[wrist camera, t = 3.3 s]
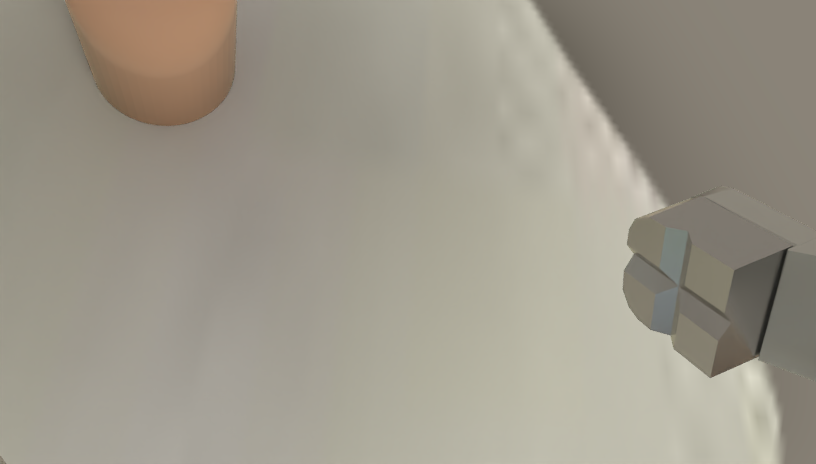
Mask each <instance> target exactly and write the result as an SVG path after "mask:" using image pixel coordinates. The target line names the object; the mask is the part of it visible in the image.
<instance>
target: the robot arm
mask: <svg viewBox="0 0 816 464" xmlns="http://www.w3.org/2000/svg"><path fill="white" fill-rule="evenodd" d="M627 245H628V247H629V248H630V249H631V251H632V252H633V253H634V255H633V256H632V258H631V260H630V261H629V263H628V265H627V266H626V268H625V270H624V278H623V292H624V294H625V297H626V300H627V303H628V306H629V308H630V309H631V311H632V312H633V313H634V315H635V316H636V317H637V319H638V320H639V321H641V322H642V323H643V324H644V325H645V326H646V327H648V328H649V329H650V330H653V331H656V332H660V333H664V334H667V335H671V340H672V344H673V348H674V349H675V350H676V351H677V352H678V353H680V354H681V355H682V356H683V357H685V358H686V359H687V360H688V361H689V362H691V363H692V364H693V365H694V366H696V367H697V368H698V369H699V370H701V371H702V372H703V373H704V374H706V375H707V376H708V377H709V378H712V377H714V376H716V375H718V374H721V373H723V372H725V371H727V370H730V369H732V368H734V367H736V366H739V365H741V364H743V363H745V362H748V361H750V360H752V359H754V358H757V357H759V359H758V360H759V361H762V362H765V363H767V364H770V365H773V366H775V367H778V368H781V369H783V370H786V371H789V372H791V373H794V374H797V375H800V376H802V377H805V378H807V379H810V380H813V381H815V382H816V230H814V229H813V228H811V227H808V226H806V225H805V224H803V223H801V222H799V221H797V220H795V219H793V218H791V217H789V216H787V215H785V214H783V213H781V212H779V211H777V210H775V209H773V208H771V207H769V206H767V205H765V204H764V203H762V202H760V201H757V200H756V199H754V198H752V197H750V196H748V195H746V194H744V193H742V192H740V191H738V190H736V189H734V188H730V187H722V186H719V187H716V188H714V189H711V190H709V191H706V192H704V193H701V194H698V195H696V196H693V197H692V198H690V199H688V200H685V201H682V202H679V203H677V204H674V205H672V206H668V207H666V208H663V209H660V210H658V211H655V212H652V213H650V214H647V215H644V216H642V217H639V218H636V219H635V220H634V222H633V224H632V225H631V227H630V229H629V233H628V240H627ZM0 464H6V463H5V461H4V460H3V458H2V457H1V456H0Z"/></svg>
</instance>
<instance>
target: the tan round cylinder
mask: <svg viewBox="0 0 816 464" xmlns="http://www.w3.org/2000/svg"><path fill="white" fill-rule="evenodd" d="M65 2H66V5H67V8H68V10H69V13H70V16H71V18H72V21H73V24H74V27H75V29H76V32H77V35H78V37H79V40H80V43H81V45H82V48H83V51H84V53H85V56H86V59H87V61H88V64H89V67H90V69H91V72H92V75H93V77H94V80H95V82H96V85H97V87H98V89H99V90H100V92H101V94H102V95H103V96H104V97H105V99H106V100H107V101H108V102H109V103H110V104H111V105H112V106H113V107H114V108H116V109H117V110H119V111H120V112H121V113H123V114H125V115H127V116H128V117H130V118H133V119H135V120H137V121H140V122H144V123H147V124H153V125H162V126H171V125H180V124H186V123H189V122H192V121H195V120H198V119H200V118H202V117H204V116H206V115H207V114H209V113H211V112H212V111H213V110H214V109H216V108H217V107H218V106H219V105H220V104H221V103H222V101H223V100H224V99H225V97H226V96H227V95H228V93H229V91H230V89H231V86H232V83H233V80H234V75H235V55H236V23H237V0H65Z"/></svg>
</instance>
